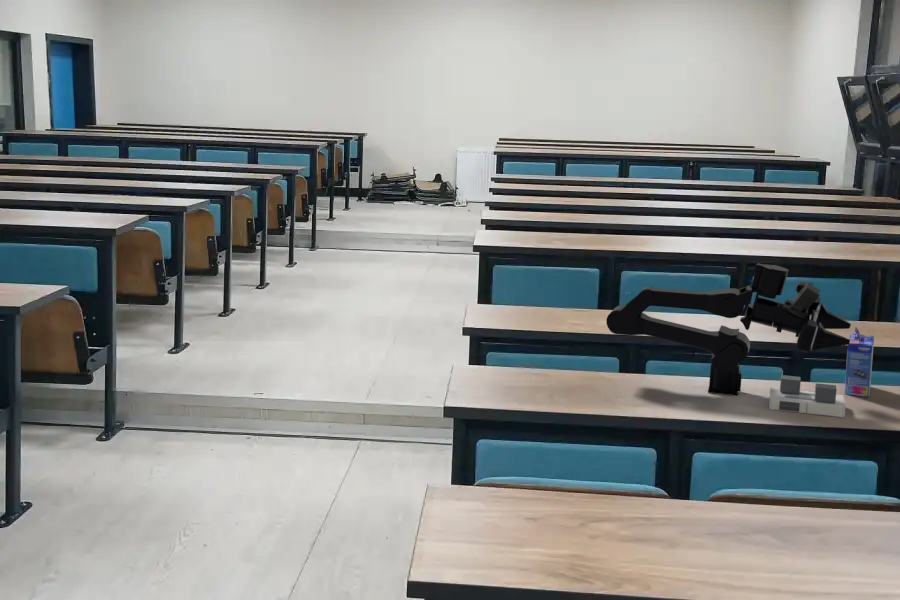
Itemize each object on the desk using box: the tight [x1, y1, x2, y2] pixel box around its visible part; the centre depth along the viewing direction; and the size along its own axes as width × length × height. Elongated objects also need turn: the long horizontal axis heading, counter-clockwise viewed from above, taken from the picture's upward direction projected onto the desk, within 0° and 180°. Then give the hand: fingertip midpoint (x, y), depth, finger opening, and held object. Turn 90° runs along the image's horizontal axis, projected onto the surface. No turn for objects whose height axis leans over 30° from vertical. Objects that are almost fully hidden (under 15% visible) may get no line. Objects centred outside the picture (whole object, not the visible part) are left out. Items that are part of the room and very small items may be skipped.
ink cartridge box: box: [844, 326, 875, 398], centre depth 217 cm, size 10×6×14 cm, turn 155°
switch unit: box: [768, 387, 846, 418], centre depth 204 cm, size 15×8×3 cm, turn 71°
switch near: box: [814, 383, 838, 403], centre depth 201 cm, size 4×3×3 cm
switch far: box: [779, 374, 802, 394], centre depth 207 cm, size 4×3×3 cm
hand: (849, 334), depth 204 cm, fingers open, 9 cm apart
